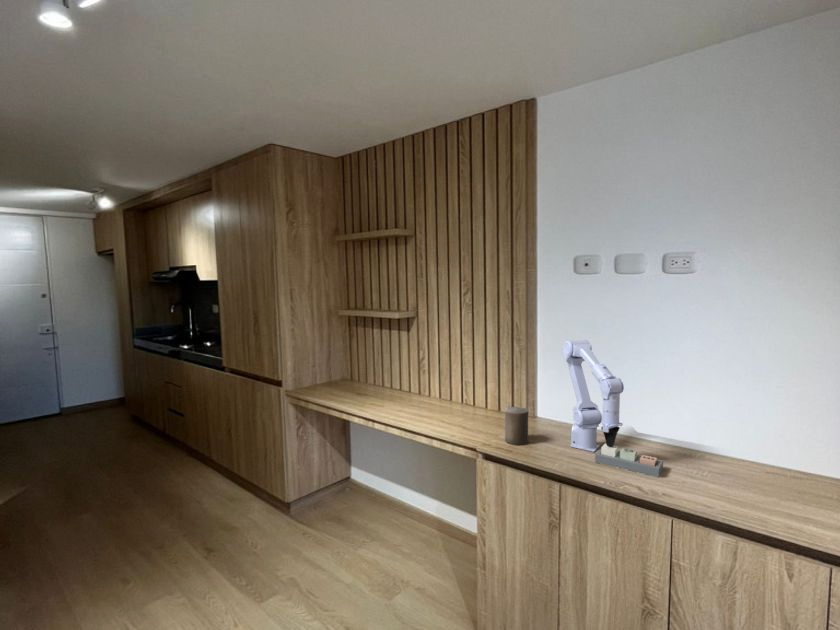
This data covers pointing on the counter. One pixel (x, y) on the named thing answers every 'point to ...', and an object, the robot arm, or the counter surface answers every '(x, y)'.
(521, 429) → the pillar candle
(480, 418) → the counter surface
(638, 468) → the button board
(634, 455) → the tile
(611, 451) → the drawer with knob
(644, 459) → the three-pip tile
